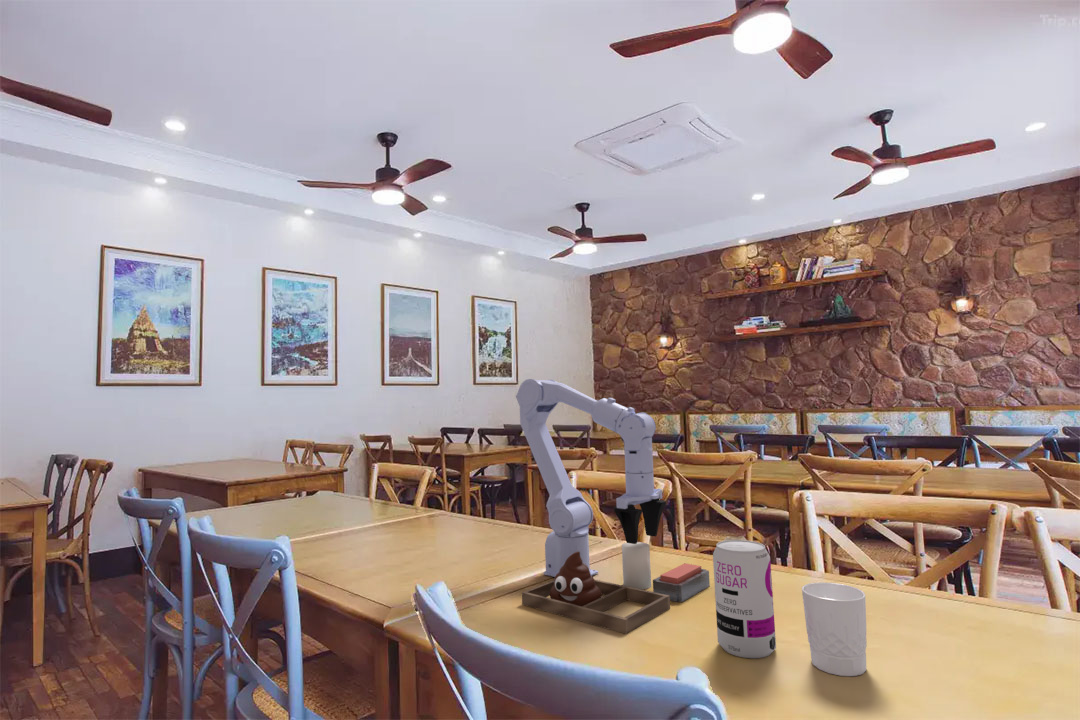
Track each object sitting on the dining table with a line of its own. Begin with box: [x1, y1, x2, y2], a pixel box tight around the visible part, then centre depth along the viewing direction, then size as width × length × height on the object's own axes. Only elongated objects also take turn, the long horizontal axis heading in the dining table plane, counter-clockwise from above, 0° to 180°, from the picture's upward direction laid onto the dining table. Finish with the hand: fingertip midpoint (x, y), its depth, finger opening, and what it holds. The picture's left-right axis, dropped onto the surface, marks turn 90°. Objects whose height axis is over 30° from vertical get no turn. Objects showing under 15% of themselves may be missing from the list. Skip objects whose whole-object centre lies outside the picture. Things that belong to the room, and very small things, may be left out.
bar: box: [659, 563, 702, 584], centre depth 112 cm, size 4×10×3 cm, turn 138°
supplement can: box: [712, 540, 777, 659], centre depth 85 cm, size 8×8×15 cm
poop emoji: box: [549, 551, 602, 606], centre depth 108 cm, size 10×8×9 cm
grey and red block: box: [652, 568, 711, 603], centre depth 112 cm, size 6×12×3 cm, turn 138°
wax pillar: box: [621, 541, 652, 590], centre depth 116 cm, size 6×6×8 cm
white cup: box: [801, 582, 867, 677], centre depth 79 cm, size 8×8×10 cm
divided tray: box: [521, 578, 671, 635], centre depth 105 cm, size 23×14×2 cm, turn 48°
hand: (641, 539), depth 116 cm, fingers open, 7 cm apart
